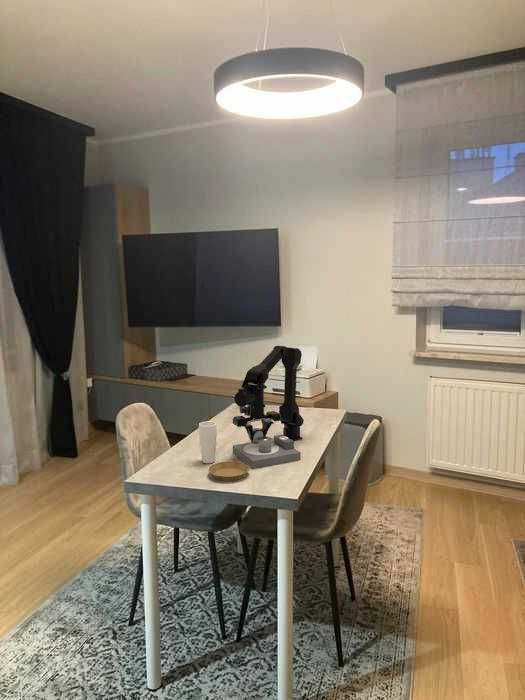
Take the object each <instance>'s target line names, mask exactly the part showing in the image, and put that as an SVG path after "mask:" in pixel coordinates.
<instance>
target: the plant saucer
mask: <svg viewBox="0 0 525 700" xmlns="http://www.w3.org/2000/svg"><path fill="white" fill-rule="evenodd" d="M250 468H251V467H250V466H249V465H248V464H247V463H245V462H241V461H233V460H232V461H229V460H227V461H220V462H219V461H218V462H217V463H212V465H210V466H209V467H208V470H207V471H208V472H209V473H210V475H211V476H213V478H215V479H216V478H217V480H219V481H224V480H226V482H227V481H228V482H229V480H232V481H237V480H241V479H242V478H244V477H245V476H246V475H247V474H248V473H249V471H250Z"/></svg>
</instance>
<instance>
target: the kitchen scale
mask: <svg viewBox="0 0 525 700" xmlns="http://www.w3.org/2000/svg"><path fill="white" fill-rule="evenodd" d="M271 449H272V451H271V452H269V453H260V452H259V445H258V444H252V443H251V441H250V442H245V443H244V442H243V443H239V444H232V453H233V454H234V455H235V456H237V457H238V458H239V459H241V461H243V463H245V464H247V465H248V466H249V468H251V469H253V470H255V469H259V468H265V467H270V466H275V465H280V464H287V463H291V462H296V461H300V460H301V457H302V456H301V455H302V454H301V452H300V451H299V450H297V449H296V448H295V440H291V439H289V438H288V437H286V436H284V435H283V434H275V435H274V436H273V438H271Z"/></svg>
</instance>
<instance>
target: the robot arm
mask: <svg viewBox="0 0 525 700" xmlns="http://www.w3.org/2000/svg"><path fill="white" fill-rule="evenodd" d="M302 356H303V354H302V351H301V350H300V348H298V347H287V346H285V345H275V346H273V349H272V350H271V352H269V353H268V355H267V356H266V357H264V359H263V360H262V361H261V362H260V363H259V364H257V365H254V366H252V367H251V368H250V369H248V371H247V372H246V373H245V377H244V379H243V382H242V383H241V388H238V389H237V391H238V392H236V393H235V394H234V398H233V399H234V403H235V405H236V406H237V407H239V414H244V415H236V416H234V417H233V418H232V424H233V425H234V426H236V427H237V428H241V427H243V428H245V431H246V432H247V436H248V438H249V441H250V442H251V441H252V439H253V428H254V427H253V425H252V422H253V423H254V422H258V421H259V422H260V421H261V427H262V428H261V429H263V436H267V434H268V431H269V430H270V428H271V426H272V425H274V422H279V421H280V424H281V425H284V426H283V428H282V430H283V431H282V433H283V434H282V435H284V436H286V437H288V438H289V439H291V440H293V441H296V440H302V439H303V436H301V427H302V426H303V425H304V421H305V420H304V418H303V417H302V415H301V414H300V408H299V405H298V403H297V401H296V400H297V399H296V398H297V396H296V395H297V374H298V373H297V369H298V367H299V365H300V364H301V363H302V362H301V360H302ZM280 361H281V363H282V365H283V367H284V387H283V388H284V390H283V391H284V394H283V396H284V397H283V403H281V405H279V406H278V410H279V411H278V412H277V411H276V410H271V411H266V413H265V408H266V404H265V389H267V388H268V386H266V385H265V384H266V382H267V380H268V379H269V373H270V372H271V371H272V370H273V369H274V367H275V366H276V365H277V364H278V363H279V362H280ZM246 416H247V417H246Z"/></svg>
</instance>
